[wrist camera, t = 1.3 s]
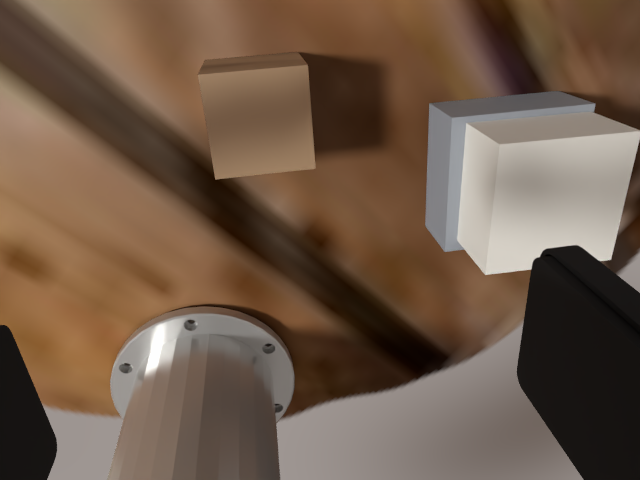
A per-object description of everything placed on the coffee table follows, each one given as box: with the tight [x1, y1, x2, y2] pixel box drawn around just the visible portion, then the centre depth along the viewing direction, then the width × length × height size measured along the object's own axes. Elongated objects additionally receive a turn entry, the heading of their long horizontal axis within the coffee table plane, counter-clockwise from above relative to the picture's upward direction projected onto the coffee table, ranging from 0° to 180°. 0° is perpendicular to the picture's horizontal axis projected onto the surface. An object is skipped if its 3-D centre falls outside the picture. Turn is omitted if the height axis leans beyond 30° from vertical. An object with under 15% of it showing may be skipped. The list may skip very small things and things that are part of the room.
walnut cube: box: [198, 52, 316, 179], centre depth 27 cm, size 5×5×5 cm
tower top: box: [457, 112, 640, 275], centre depth 27 cm, size 7×7×4 cm
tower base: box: [425, 91, 595, 252], centre depth 31 cm, size 8×8×4 cm
